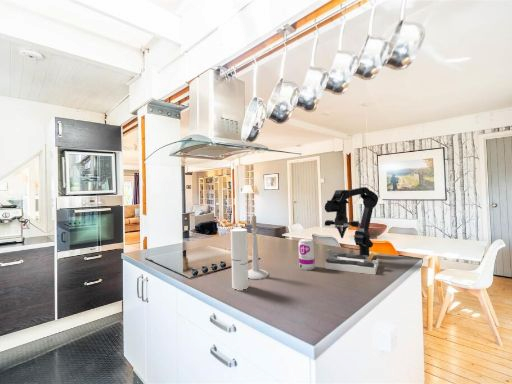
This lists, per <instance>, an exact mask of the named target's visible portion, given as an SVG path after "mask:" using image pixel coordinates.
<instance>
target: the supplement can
mask: <svg viewBox="0 0 512 384" xmlns="http://www.w3.org/2000/svg"><path fill="white" fill-rule="evenodd" d="M315 261H316V259H315V242H314V239H311V238H301V239H299V241H298V265H299V268H300V270H305V271H312V270H314V269H315V268H316V265H315V264H316V262H315Z"/></svg>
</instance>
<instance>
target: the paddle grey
mask: <svg viewBox="0 0 512 384" xmlns="http://www.w3.org/2000/svg"><path fill="white" fill-rule="evenodd" d="M326 253H327V255H328V257H329V256H330V257H335V256H334V252H333V250H332V248H328V249H327V250H326Z"/></svg>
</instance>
